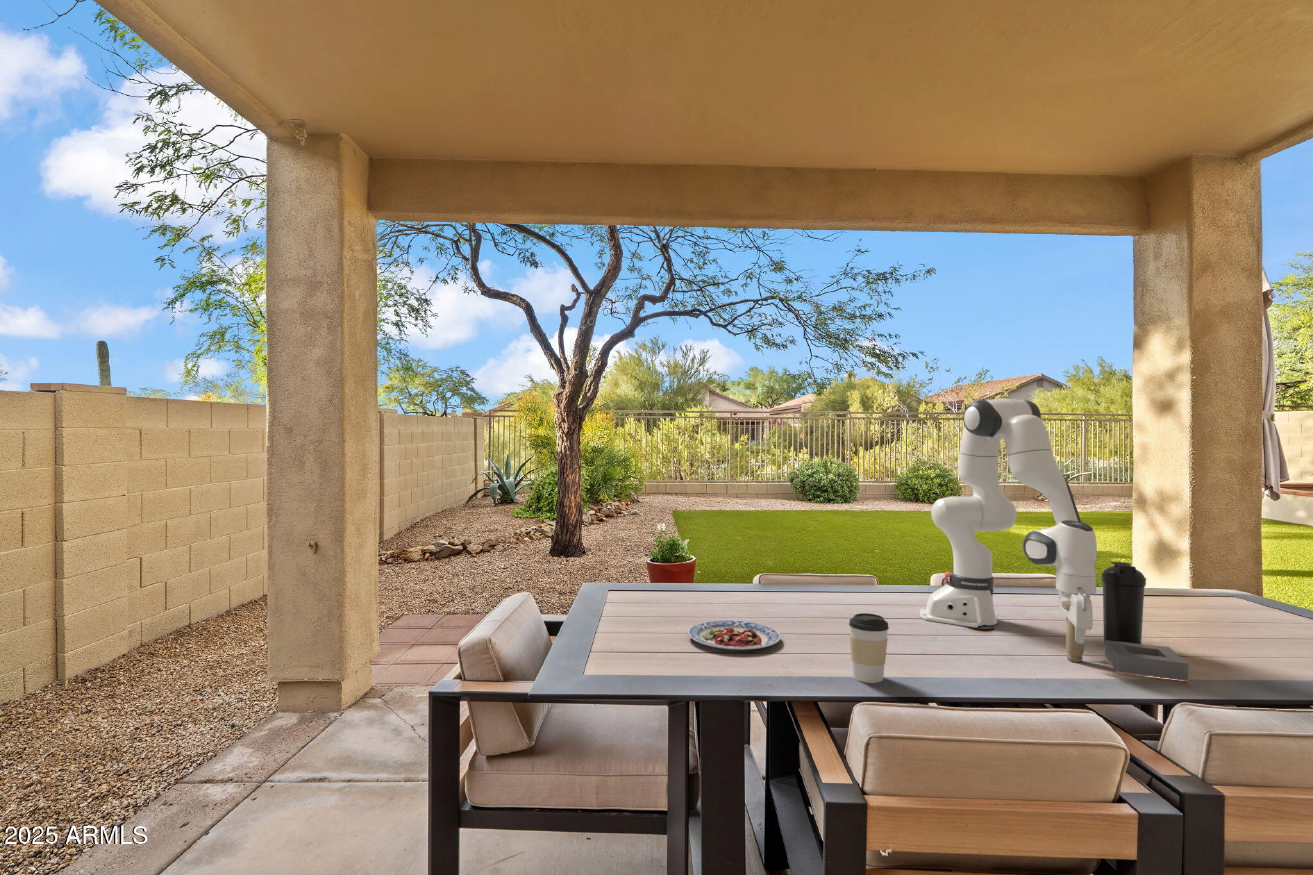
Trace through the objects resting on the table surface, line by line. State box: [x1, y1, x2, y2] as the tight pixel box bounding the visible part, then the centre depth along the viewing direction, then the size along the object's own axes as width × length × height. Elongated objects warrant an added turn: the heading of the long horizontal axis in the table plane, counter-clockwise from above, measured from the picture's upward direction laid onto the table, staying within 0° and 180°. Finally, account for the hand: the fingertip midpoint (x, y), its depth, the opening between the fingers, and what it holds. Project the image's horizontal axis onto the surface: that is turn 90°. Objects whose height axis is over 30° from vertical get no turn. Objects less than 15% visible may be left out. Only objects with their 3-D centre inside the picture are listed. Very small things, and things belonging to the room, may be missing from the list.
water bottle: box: [1100, 561, 1147, 646], centre depth 183 cm, size 10×10×23 cm
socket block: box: [1103, 640, 1189, 682], centre depth 165 cm, size 14×13×4 cm
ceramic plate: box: [688, 619, 782, 651], centre depth 185 cm, size 26×26×3 cm
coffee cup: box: [848, 612, 890, 684], centre depth 157 cm, size 9×9×15 cm
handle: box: [1061, 601, 1085, 663], centre depth 171 cm, size 5×6×15 cm
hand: (1074, 637), depth 171 cm, fingers open, 8 cm apart
